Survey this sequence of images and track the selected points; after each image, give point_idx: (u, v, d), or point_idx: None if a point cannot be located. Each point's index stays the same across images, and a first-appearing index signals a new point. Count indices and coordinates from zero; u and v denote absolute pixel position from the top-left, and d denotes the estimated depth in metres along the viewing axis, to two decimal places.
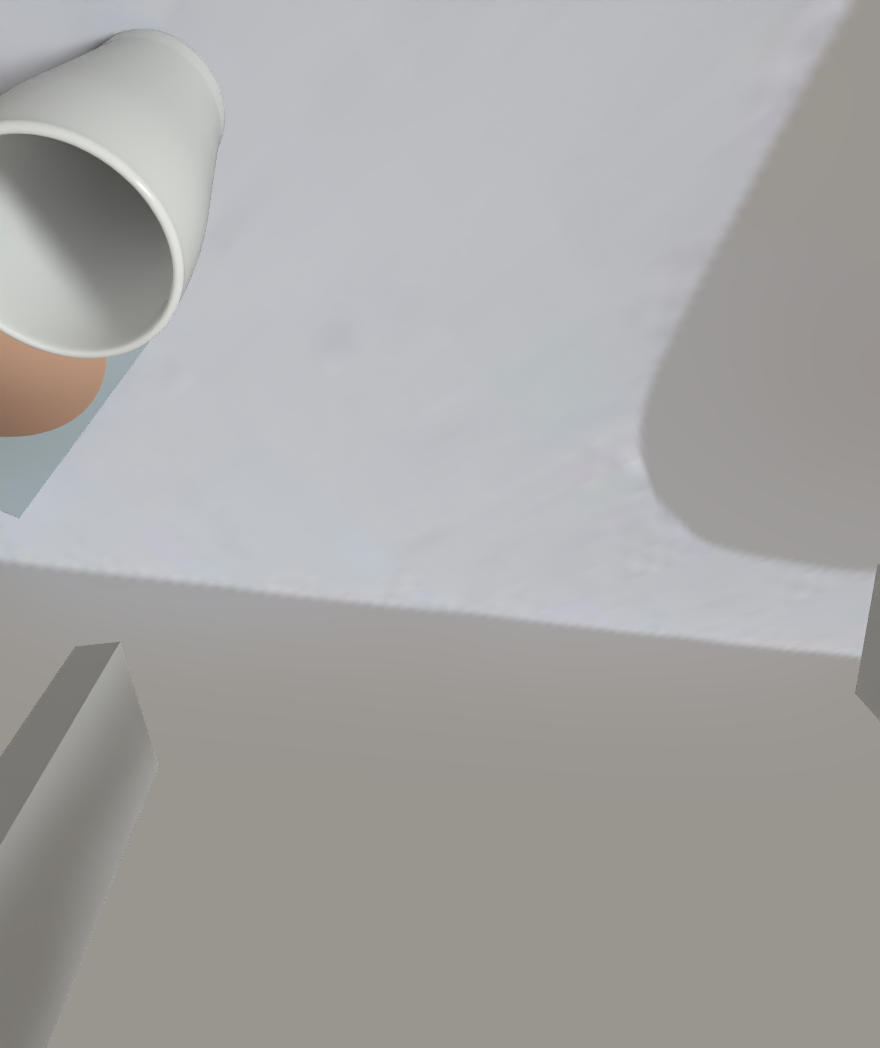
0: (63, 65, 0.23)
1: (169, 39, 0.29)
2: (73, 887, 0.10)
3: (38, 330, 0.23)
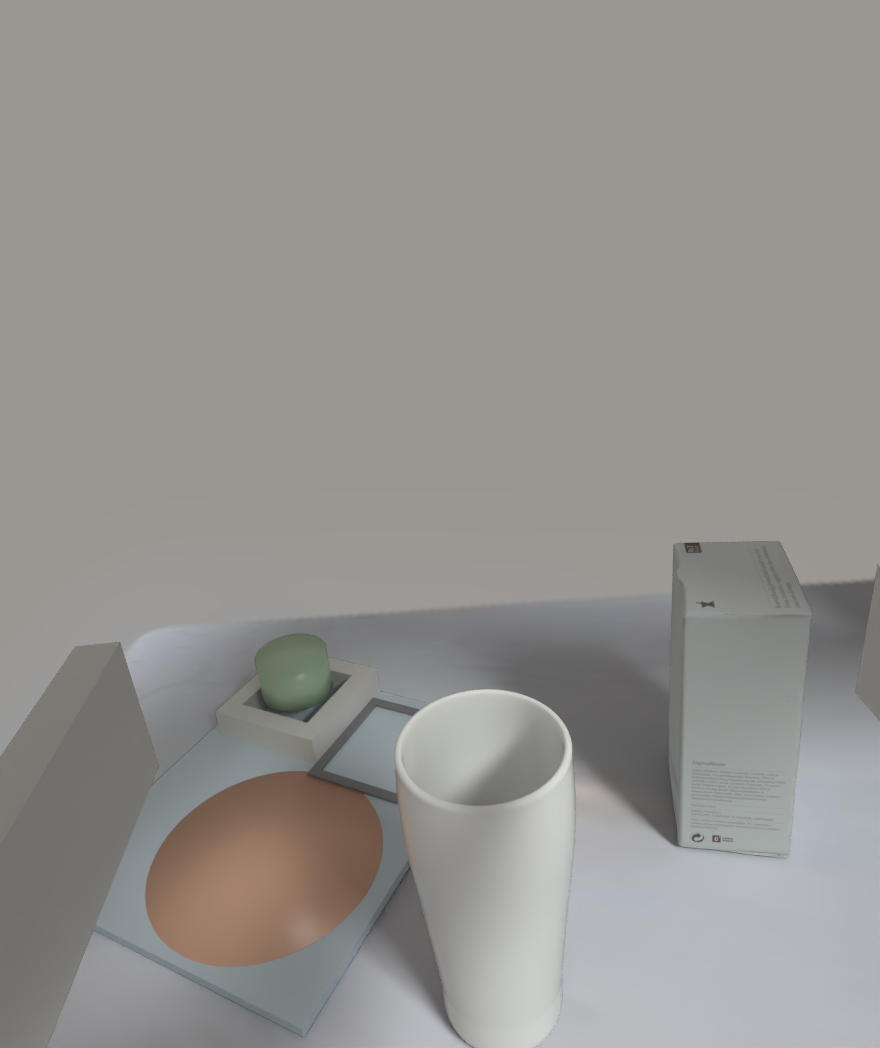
0: None
1: (562, 987, 0.33)
2: (72, 887, 0.10)
3: (406, 747, 0.29)
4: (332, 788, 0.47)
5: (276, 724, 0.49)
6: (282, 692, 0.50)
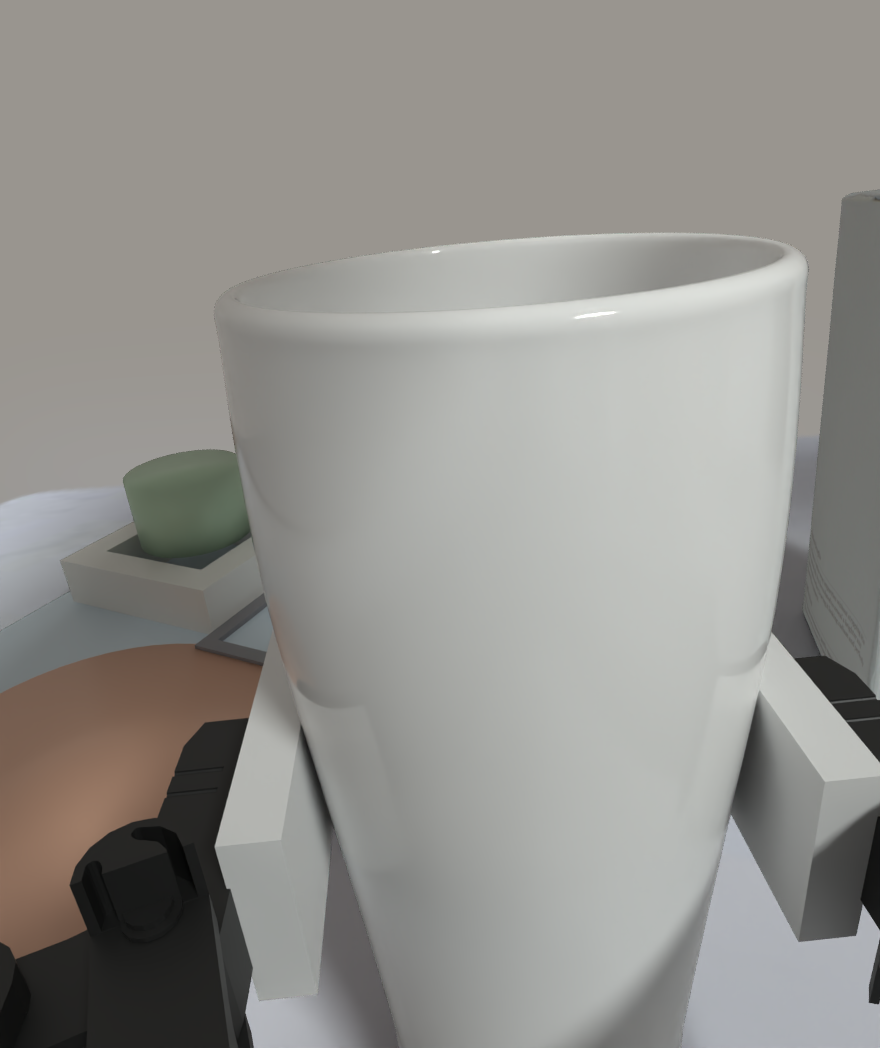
0: None
1: None
2: None
3: None
4: (233, 666, 0.27)
5: (151, 572, 0.30)
6: (163, 522, 0.31)
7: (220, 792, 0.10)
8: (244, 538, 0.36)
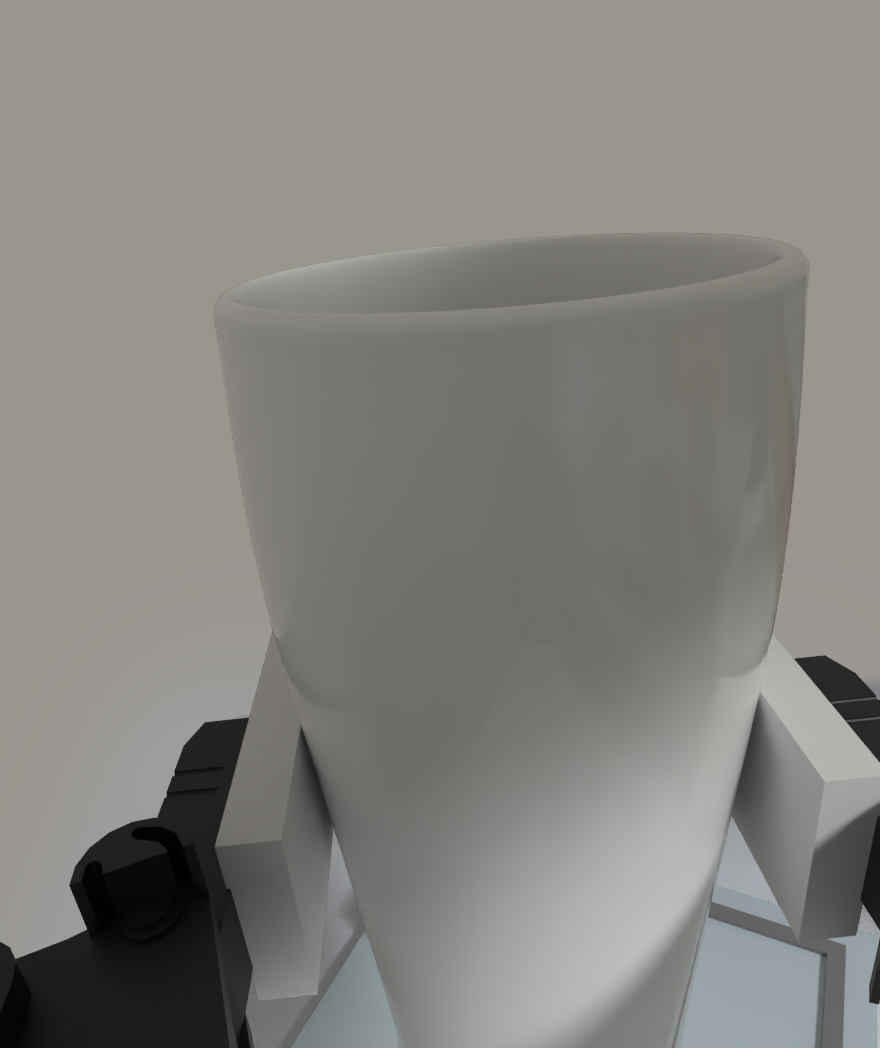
0: None
1: None
2: None
3: None
4: None
5: None
6: None
7: (220, 792, 0.10)
8: None
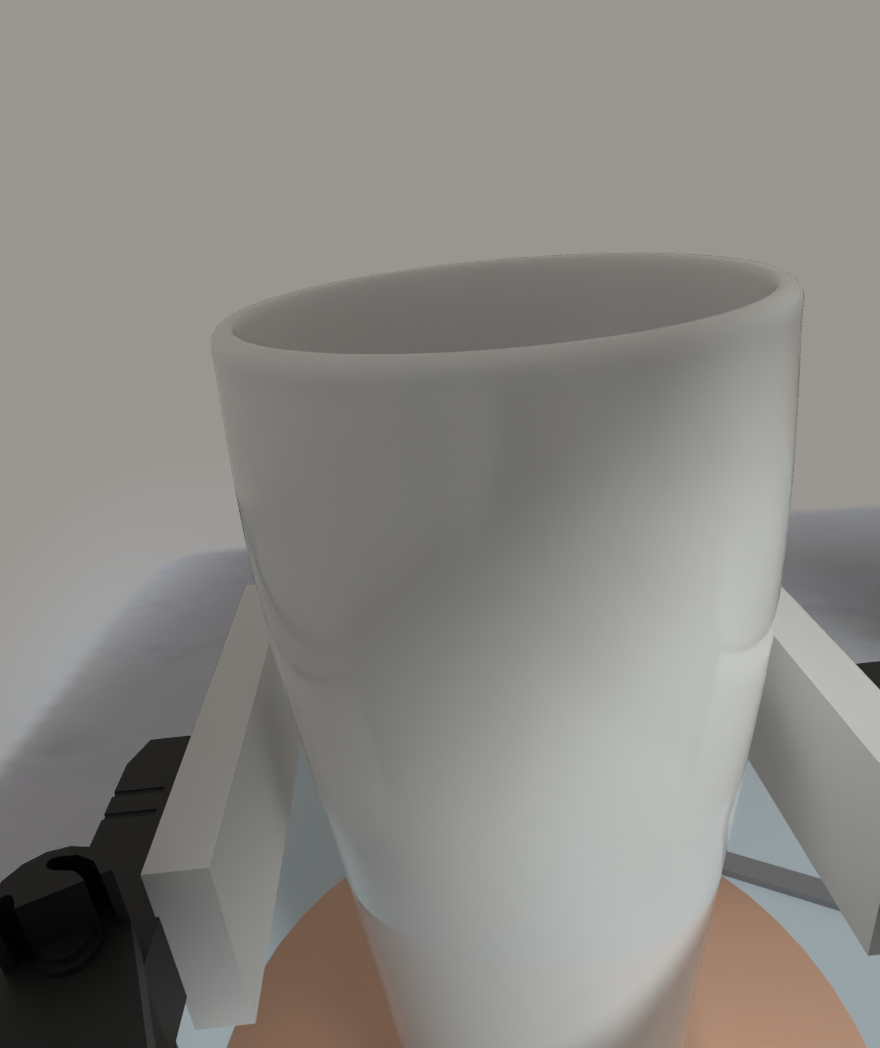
0: None
1: None
2: (277, 783, 0.12)
3: None
4: None
5: None
6: None
7: (159, 814, 0.10)
8: None
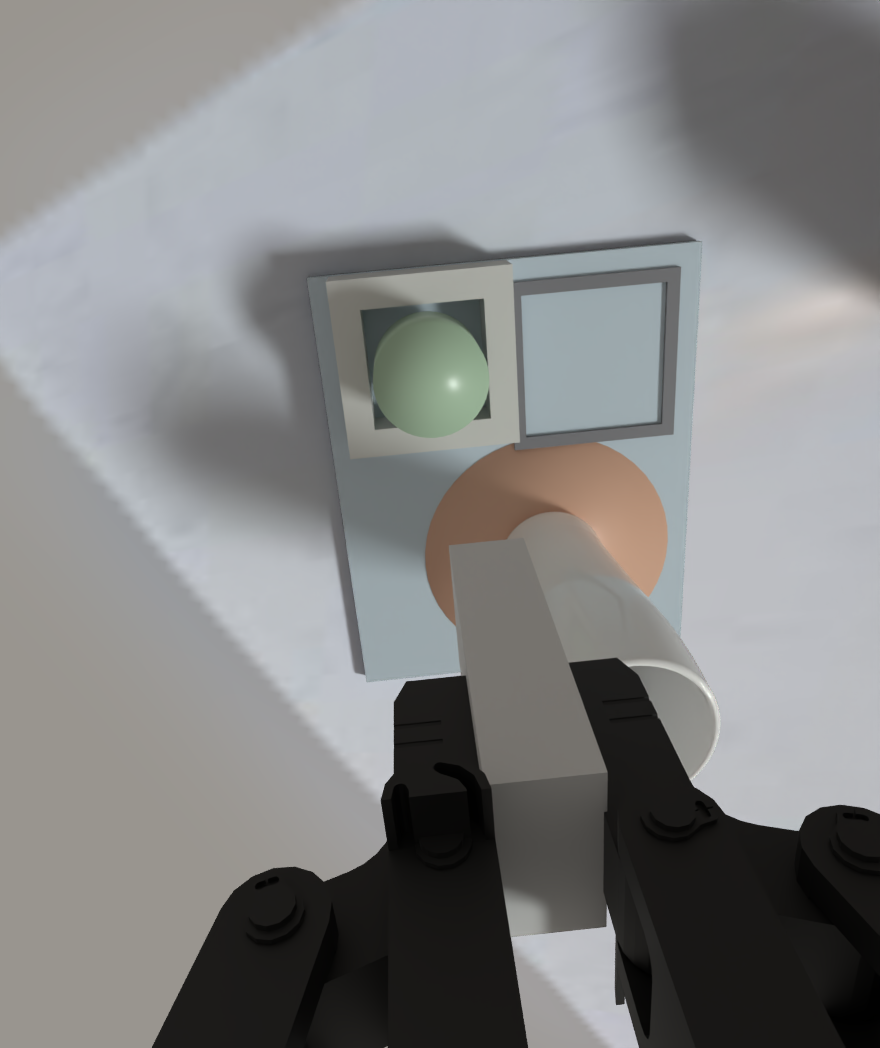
0: (633, 585, 0.32)
1: None
2: None
3: None
4: (555, 450, 0.38)
5: (452, 439, 0.36)
6: None
7: (446, 743, 0.11)
8: None
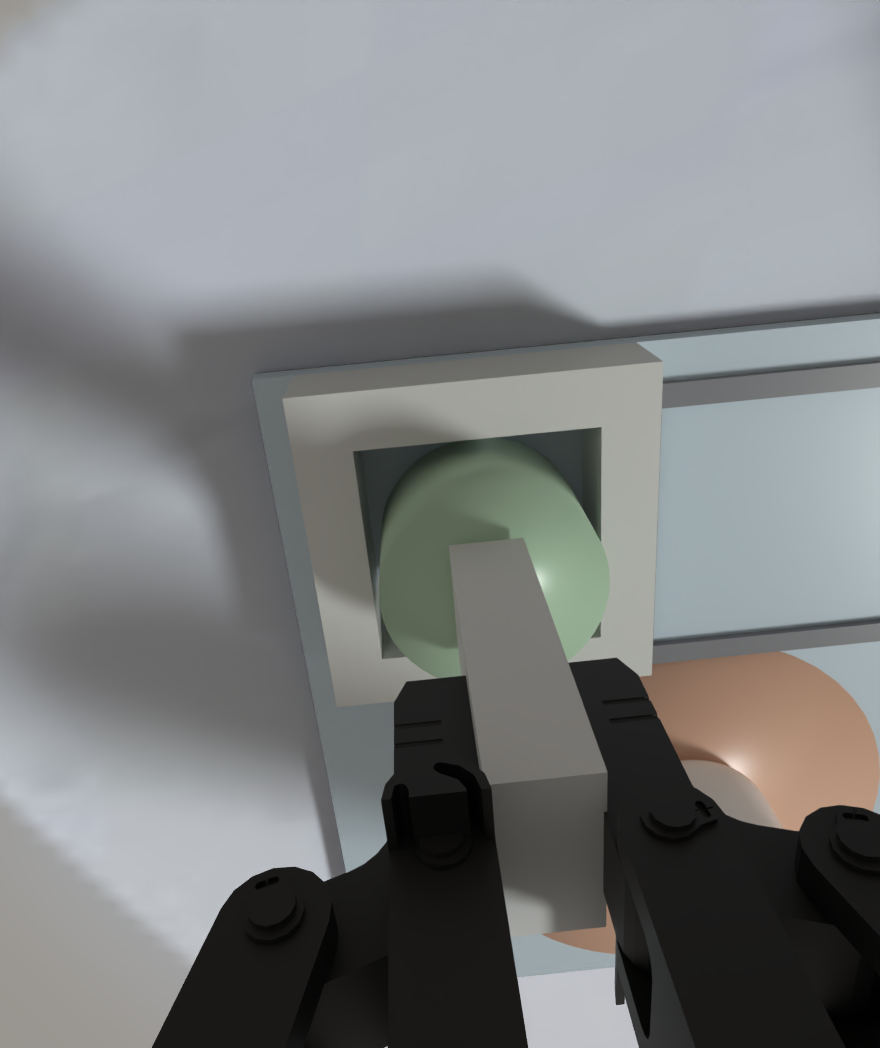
0: None
1: None
2: None
3: None
4: (701, 662, 0.22)
5: None
6: None
7: (446, 743, 0.11)
8: None
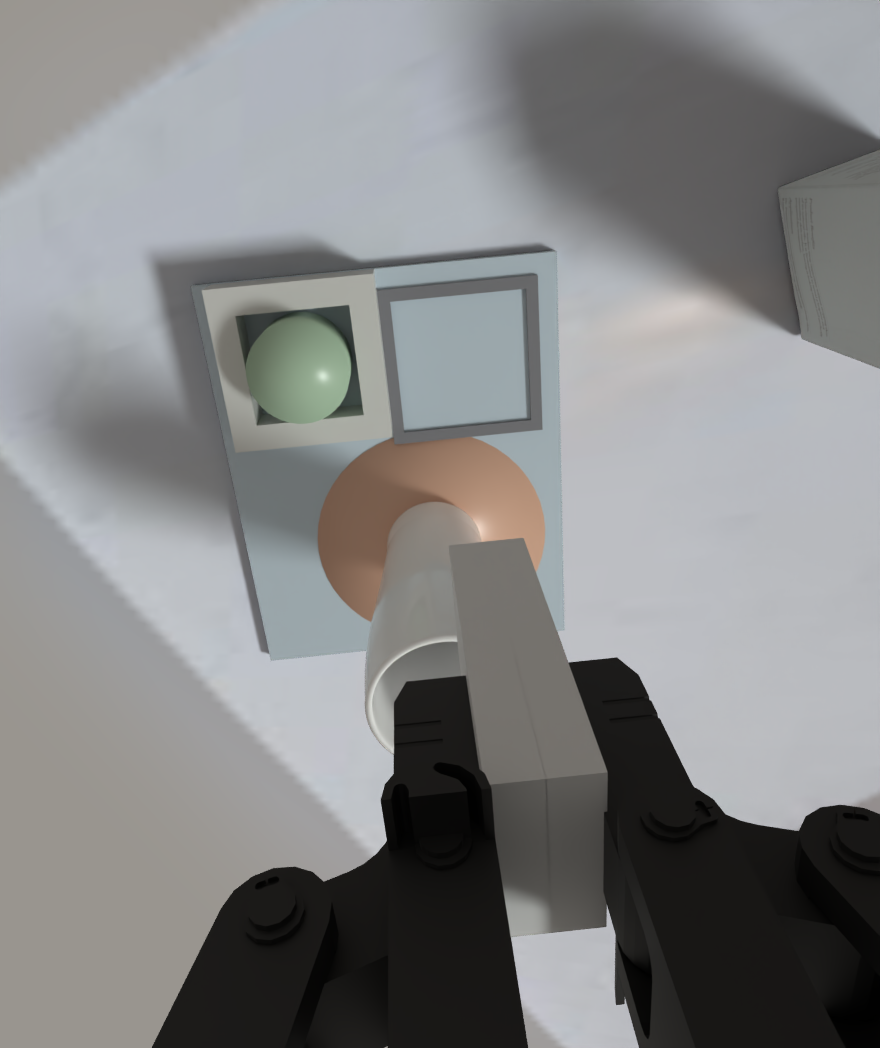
0: None
1: None
2: None
3: (375, 715, 0.31)
4: (433, 444, 0.41)
5: (329, 434, 0.39)
6: None
7: (446, 743, 0.11)
8: None
